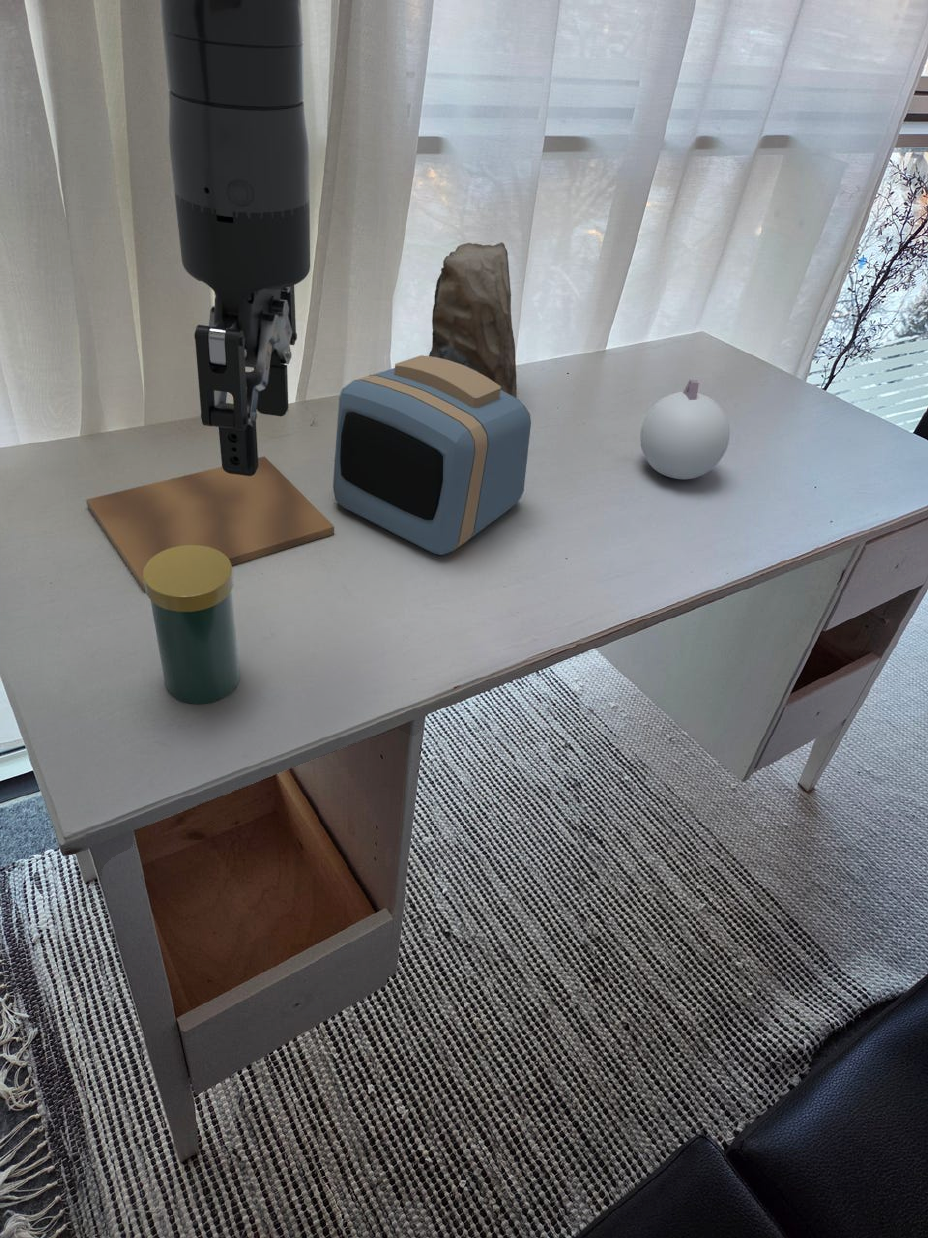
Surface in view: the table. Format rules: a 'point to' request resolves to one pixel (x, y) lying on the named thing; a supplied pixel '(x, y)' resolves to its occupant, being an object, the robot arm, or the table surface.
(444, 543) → the alarm clock
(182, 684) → the jar
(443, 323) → the jagged brown rock
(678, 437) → the ornament
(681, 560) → the table surface
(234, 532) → the cork mat
